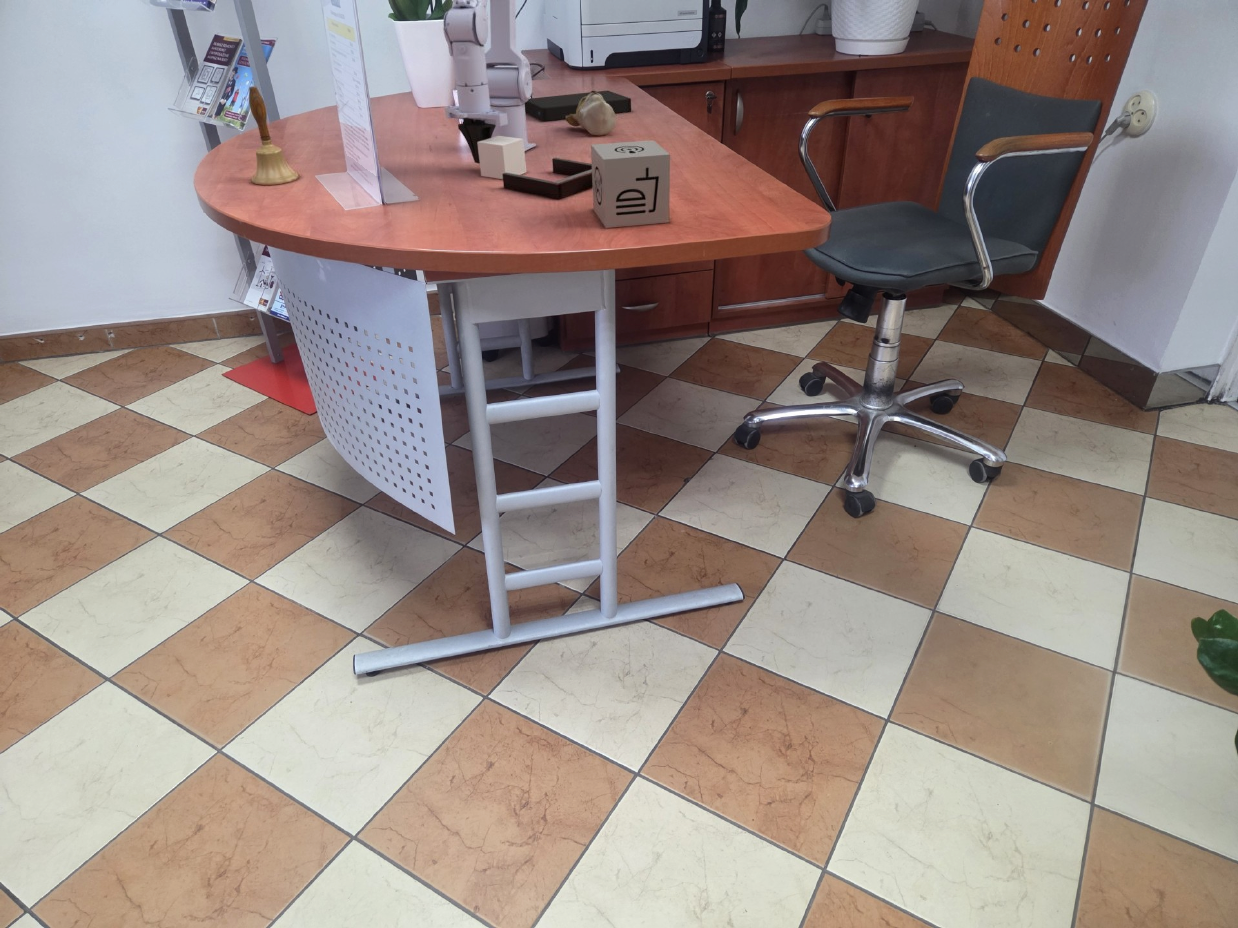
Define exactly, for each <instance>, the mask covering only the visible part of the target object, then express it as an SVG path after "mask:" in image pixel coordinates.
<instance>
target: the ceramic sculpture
mask: <svg viewBox="0 0 1238 928" xmlns="http://www.w3.org/2000/svg"><path fill="white" fill-rule="evenodd" d="M597 92H598V91H597V90H591V91H590V94H589V95H588V96H586V97H583V98H582V99H581V100H580V101H579V104H578V107H577V110H576V114H570V115H568V116H565V119H564V120H565V122H566V123H567V124H568V125H570V126H572V127H581V128H583V129H584V130H586V131H587V132H588V133H589V134H590V135H592V136H593V135H594V136H598V137H599V136H604V135H607V134H610V133H611V132H612V131H613V129H614V127H615V125H616V120H617V113H614V111H613V109H612V108H611V107H610V105H609V104H607V103H606V102H605V101H604V99H603V97H602V96H601V95H600V94H599V93H597Z"/></svg>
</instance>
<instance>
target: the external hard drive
mask: <svg viewBox="0 0 1238 928" xmlns="http://www.w3.org/2000/svg"><path fill="white" fill-rule="evenodd" d="M590 92H591V91H590ZM590 92H580V93H570V94H569V93H568V94H560V95H550V96H541V97H533V98H531V97H530V98H529V100H528V101H527V102H525V114H527V115H528V116H531V117H532V118H534V119H537V120H539V121H541V122H544V123H545V122H552V121H561V120H565V116H568V115H570V114H576V110H577V107H578V104H579V101H580V100H581V99H582V98H583V97H586V96H588V95H589V94H590ZM596 92H597V93H599V94H600V95H601V96H602V97H603V99H604V101H605V102H606V103H607V104H609V105H610V107H611V108H612V109H613V111H614V113H615V114H621V113H629V112H630V113H631V112H632V98H630V97H627V96H624V95H622V94H620V93H616V92H613V91H610V90H599V91H596Z"/></svg>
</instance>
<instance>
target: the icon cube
mask: <svg viewBox="0 0 1238 928" xmlns="http://www.w3.org/2000/svg"><path fill="white" fill-rule="evenodd" d="M590 156H591V164H592V183H593V187H592V205H593V206H592V207H593V211H594V212H595V214H596V216H597V217H598V219H599V220H600V222H601V223H602V225H603V226H604V228H605V229H610V228H621V227H632V226H644V225H654V224H655V225H656V224H665V223H670V199H671V198H670V197H671V196H670V195H671V194H670V193H671V191H670V188H671V187H670V183H671V154H670V153H669V152H668V151H666V149H665V148H663V147H662V145H660V144H658V143H657V142H656V140H654V139H650V140H638V141H637V140H635V141H623V142H609V143H597V144H595V143H594V144H590Z"/></svg>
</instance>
